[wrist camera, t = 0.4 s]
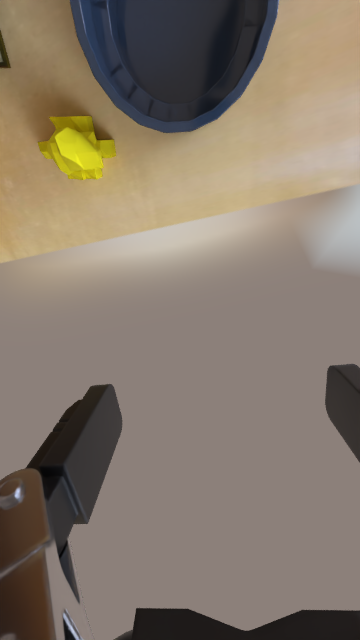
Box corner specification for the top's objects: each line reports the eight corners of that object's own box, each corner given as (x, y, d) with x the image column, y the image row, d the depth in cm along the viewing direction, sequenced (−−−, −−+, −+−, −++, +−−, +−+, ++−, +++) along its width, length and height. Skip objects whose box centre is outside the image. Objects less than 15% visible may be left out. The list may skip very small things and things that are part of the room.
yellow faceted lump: (41, 118, 29) (-4, 116, 23) (110, 115, 28) (83, 113, 22) (57, 176, 32) (23, 189, 26) (119, 176, 32) (98, 188, 26)
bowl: (61, 11, 24) (25, -17, 19) (195, -224, 17) (190, -361, 12) (170, 163, 30) (163, 171, 26) (297, 40, 23) (319, 20, 19)
